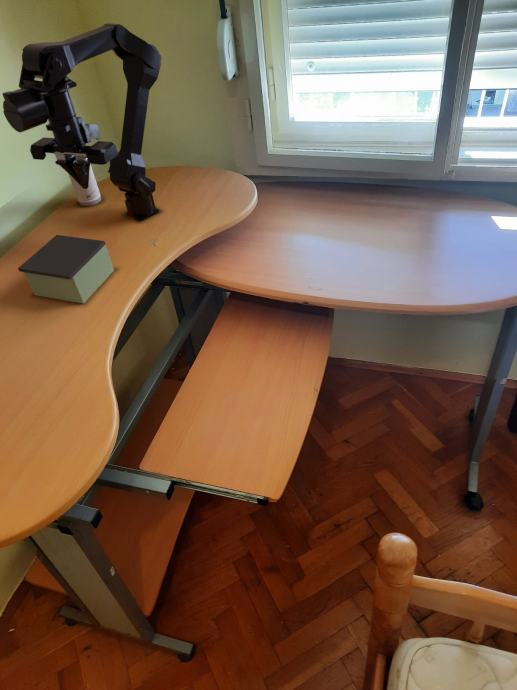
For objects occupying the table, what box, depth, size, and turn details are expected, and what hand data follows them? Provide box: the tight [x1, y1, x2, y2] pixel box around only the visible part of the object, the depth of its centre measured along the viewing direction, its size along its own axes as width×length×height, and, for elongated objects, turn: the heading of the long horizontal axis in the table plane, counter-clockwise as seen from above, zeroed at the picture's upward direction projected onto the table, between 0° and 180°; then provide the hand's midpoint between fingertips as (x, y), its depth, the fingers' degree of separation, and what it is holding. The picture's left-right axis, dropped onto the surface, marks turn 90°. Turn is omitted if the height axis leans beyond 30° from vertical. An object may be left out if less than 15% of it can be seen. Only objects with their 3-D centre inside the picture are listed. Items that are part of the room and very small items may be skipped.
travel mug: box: [68, 150, 102, 207], centre depth 123 cm, size 6×7×20 cm
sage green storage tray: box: [23, 244, 115, 305], centre depth 100 cm, size 12×12×7 cm
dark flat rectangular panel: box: [17, 234, 106, 280], centre depth 97 cm, size 13×12×1 cm
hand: (86, 188), depth 106 cm, fingers closed
